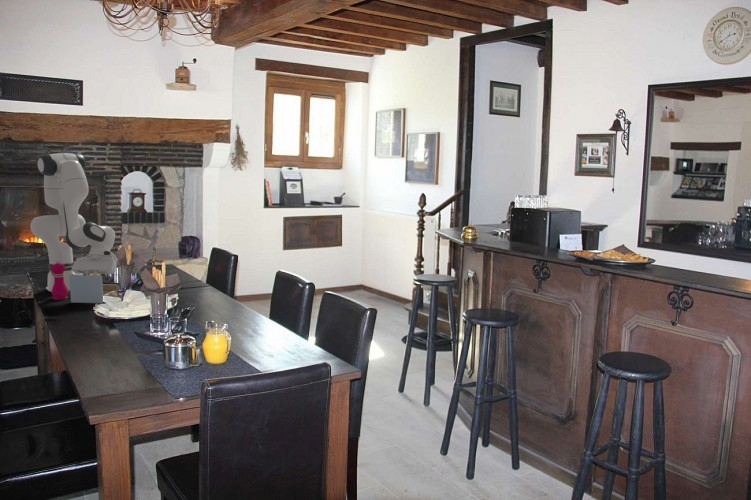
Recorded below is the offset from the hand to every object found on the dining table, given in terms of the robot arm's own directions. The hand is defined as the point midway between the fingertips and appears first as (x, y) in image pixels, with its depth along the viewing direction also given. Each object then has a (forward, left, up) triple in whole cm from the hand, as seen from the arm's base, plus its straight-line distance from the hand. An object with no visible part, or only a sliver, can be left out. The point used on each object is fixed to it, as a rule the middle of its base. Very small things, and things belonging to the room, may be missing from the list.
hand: (89, 280), depth 308 cm
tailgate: (+2, -1, -10) cm, 11 cm away
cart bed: (-6, -1, -12) cm, 13 cm away
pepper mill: (-5, -18, -12) cm, 22 cm away
